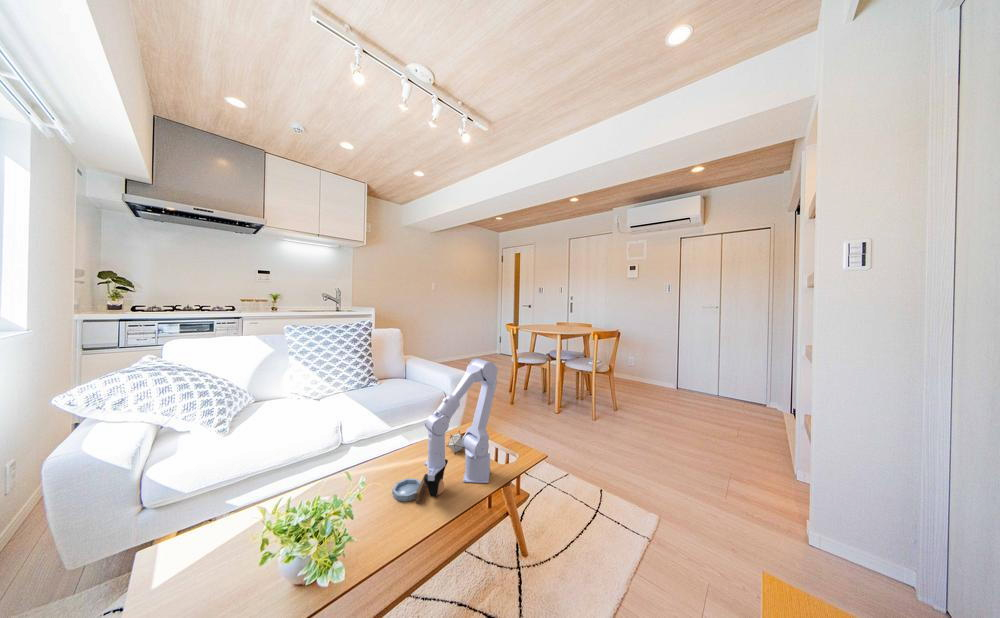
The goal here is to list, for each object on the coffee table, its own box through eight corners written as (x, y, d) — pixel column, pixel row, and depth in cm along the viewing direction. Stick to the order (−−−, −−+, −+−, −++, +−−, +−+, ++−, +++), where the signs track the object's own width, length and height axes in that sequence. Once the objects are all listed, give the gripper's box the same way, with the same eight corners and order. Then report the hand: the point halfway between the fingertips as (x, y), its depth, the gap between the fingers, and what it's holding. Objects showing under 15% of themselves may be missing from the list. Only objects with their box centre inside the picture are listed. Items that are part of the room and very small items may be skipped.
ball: (445, 488, 107) (445, 474, 107) (442, 498, 102) (442, 483, 102) (430, 488, 107) (431, 474, 107) (426, 498, 102) (426, 483, 102)
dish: (425, 484, 109) (425, 479, 109) (416, 502, 100) (416, 496, 100) (399, 483, 110) (399, 478, 110) (388, 501, 100) (388, 495, 100)
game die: (453, 461, 132) (439, 445, 129) (458, 445, 139) (445, 430, 137) (469, 455, 129) (455, 439, 126) (474, 439, 136) (460, 424, 134)
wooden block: (427, 483, 110) (427, 473, 110) (418, 503, 99) (418, 493, 99) (425, 483, 110) (425, 473, 110) (415, 503, 99) (415, 493, 99)
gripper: (430, 439, 111) (430, 476, 112) (418, 461, 97) (418, 502, 97) (449, 440, 111) (449, 476, 112) (440, 461, 97) (440, 503, 97)
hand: (436, 488), depth 104 cm, fingers open, 7 cm apart
